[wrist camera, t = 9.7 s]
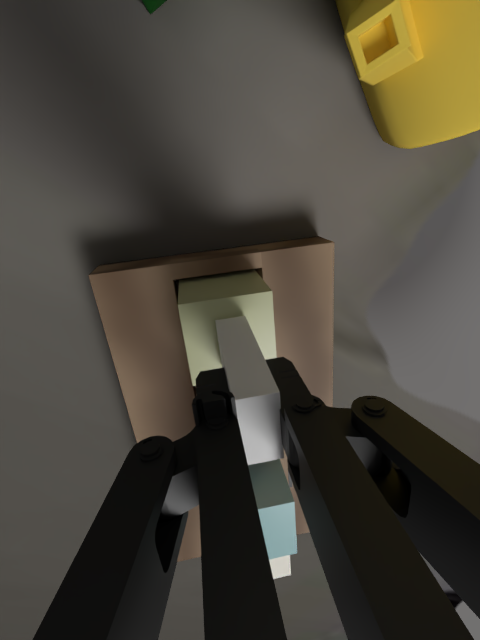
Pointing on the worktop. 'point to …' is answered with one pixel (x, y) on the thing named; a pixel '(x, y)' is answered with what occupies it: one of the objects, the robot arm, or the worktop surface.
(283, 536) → the key teal
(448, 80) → the teapot
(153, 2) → the milk carton
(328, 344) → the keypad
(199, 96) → the worktop surface
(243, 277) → the key olive
